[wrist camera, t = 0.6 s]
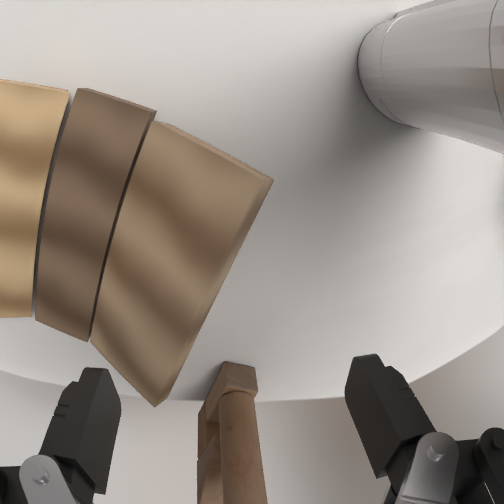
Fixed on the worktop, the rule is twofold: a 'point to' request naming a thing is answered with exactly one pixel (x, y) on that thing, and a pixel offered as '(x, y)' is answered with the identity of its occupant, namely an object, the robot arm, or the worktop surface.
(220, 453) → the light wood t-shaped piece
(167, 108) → the worktop surface
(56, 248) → the mating board
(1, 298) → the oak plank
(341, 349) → the worktop surface
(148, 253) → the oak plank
